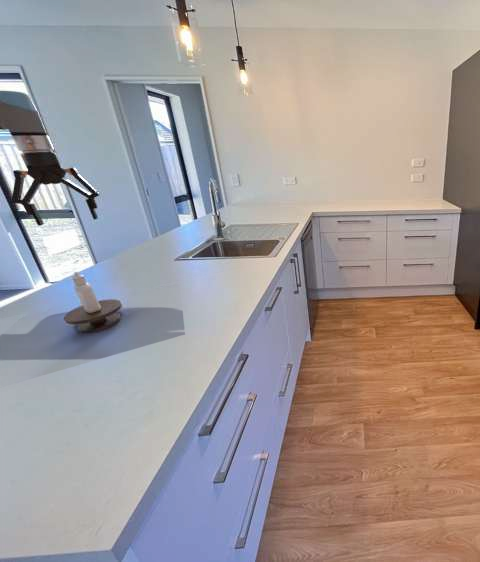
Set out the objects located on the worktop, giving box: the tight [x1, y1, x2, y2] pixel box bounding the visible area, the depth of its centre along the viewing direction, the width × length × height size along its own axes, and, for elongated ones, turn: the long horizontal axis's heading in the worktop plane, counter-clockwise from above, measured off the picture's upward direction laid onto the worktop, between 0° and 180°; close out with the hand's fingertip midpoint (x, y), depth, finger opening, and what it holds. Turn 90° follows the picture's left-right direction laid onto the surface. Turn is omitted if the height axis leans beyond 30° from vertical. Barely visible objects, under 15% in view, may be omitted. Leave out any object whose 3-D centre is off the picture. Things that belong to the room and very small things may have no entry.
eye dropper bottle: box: [71, 271, 101, 313], centre depth 86 cm, size 4×6×12 cm
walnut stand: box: [63, 298, 123, 334], centre depth 90 cm, size 13×13×5 cm
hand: (69, 221), depth 99 cm, fingers open, 13 cm apart
